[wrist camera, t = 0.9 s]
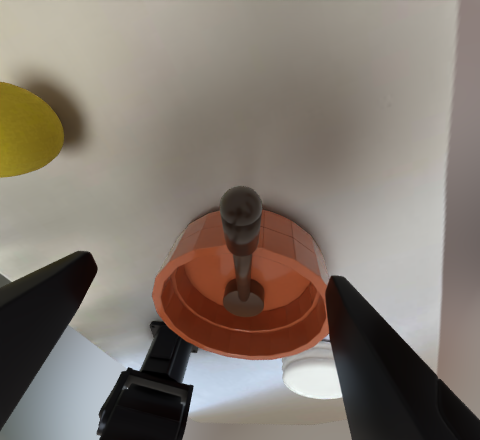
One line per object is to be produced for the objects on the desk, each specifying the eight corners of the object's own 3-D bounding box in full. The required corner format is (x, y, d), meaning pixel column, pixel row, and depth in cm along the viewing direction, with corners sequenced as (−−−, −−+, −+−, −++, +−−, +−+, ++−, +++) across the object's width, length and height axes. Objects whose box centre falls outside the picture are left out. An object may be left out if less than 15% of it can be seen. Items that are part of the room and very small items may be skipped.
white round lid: (269, 347, 33) (269, 374, 30) (337, 332, 29) (344, 361, 26) (300, 377, 37) (302, 403, 34) (363, 367, 33) (371, 396, 30)
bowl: (306, 317, 28) (313, 368, 23) (184, 303, 29) (167, 349, 25) (341, 211, 19) (364, 258, 15) (165, 196, 21) (133, 235, 16)
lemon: (58, 68, 16) (-95, 68, 9) (101, 147, 19) (8, 190, 12) (-1, 87, 17) (-173, 100, 10) (48, 159, 20) (-63, 204, 13)
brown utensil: (262, 305, 26) (259, 405, 19) (225, 301, 27) (206, 397, 19) (285, 138, 16) (299, 203, 8) (224, 134, 16) (181, 193, 8)
